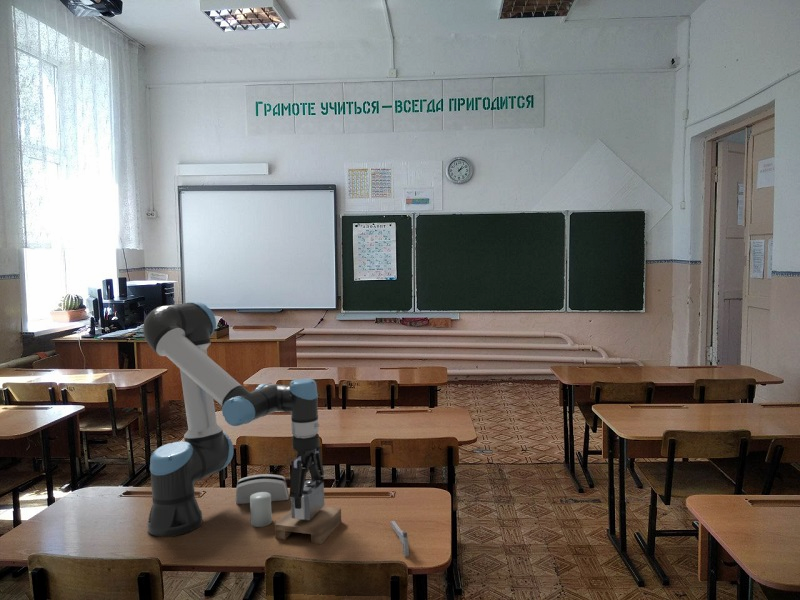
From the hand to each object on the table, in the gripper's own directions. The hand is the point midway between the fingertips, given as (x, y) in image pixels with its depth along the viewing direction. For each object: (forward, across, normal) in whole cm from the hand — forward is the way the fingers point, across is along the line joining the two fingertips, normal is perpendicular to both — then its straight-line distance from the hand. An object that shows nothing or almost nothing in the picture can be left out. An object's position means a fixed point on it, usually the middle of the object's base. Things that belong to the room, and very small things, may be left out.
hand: (308, 510), depth 171 cm
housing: (0, 0, 0) cm, 0 cm away
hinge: (+6, +15, +24) cm, 29 cm away
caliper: (+6, +1, -27) cm, 27 cm away
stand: (+6, 0, 0) cm, 6 cm away
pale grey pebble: (+6, +1, +16) cm, 17 cm away
